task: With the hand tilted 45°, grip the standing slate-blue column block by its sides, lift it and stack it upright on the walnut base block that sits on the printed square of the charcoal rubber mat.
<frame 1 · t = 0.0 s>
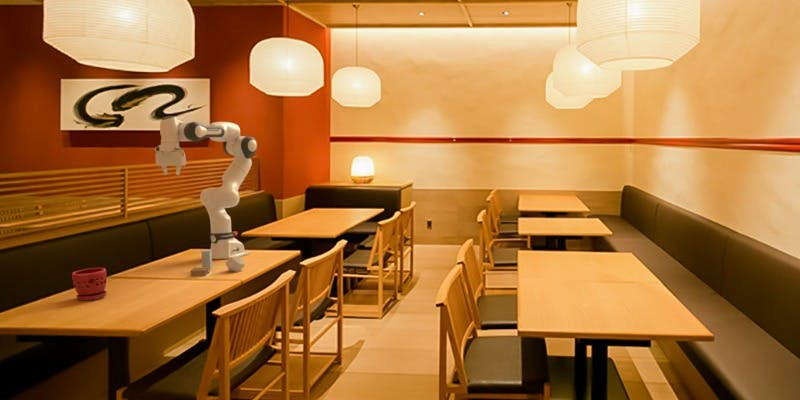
hand: (171, 174, 343), 48 cm above the table, tool pointing down, fingers open, 8 cm apart
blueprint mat: (202, 275, 324), on the table
die: (235, 271, 331), on the table
plant pot: (91, 298, 281), on the table
base block: (200, 274, 323), resting on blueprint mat
column: (207, 270, 337), on the table
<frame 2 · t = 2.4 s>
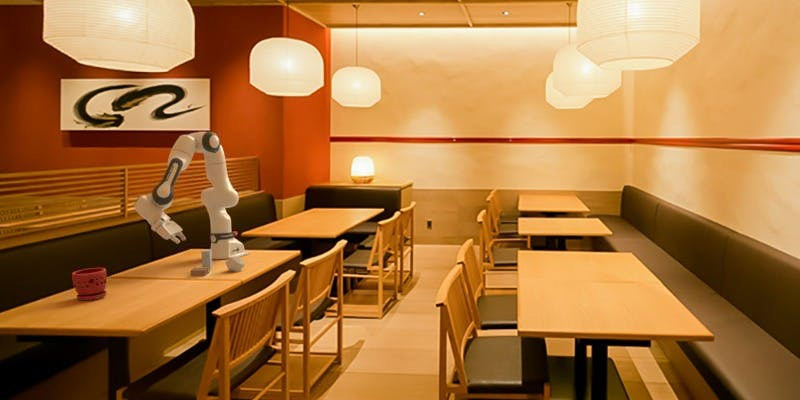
hand: (181, 241, 335), 15 cm above the table, tool tilted 45°, fingers open, 8 cm apart
nothing on the table moved.
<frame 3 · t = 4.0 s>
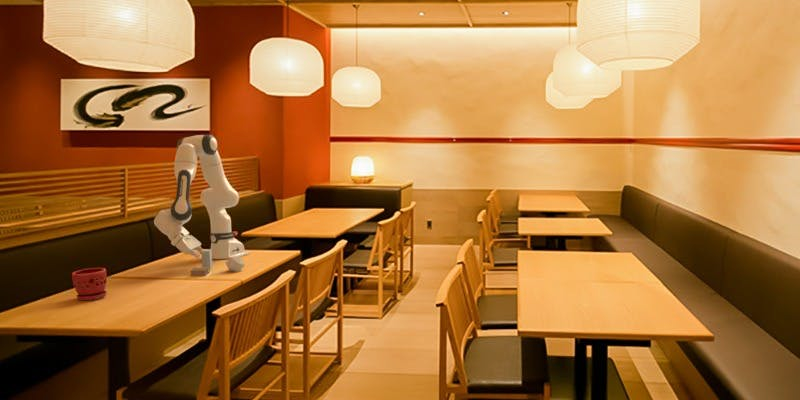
hand: (201, 255, 335), 8 cm above the table, tool tilted 45°, fingers open, 8 cm apart
nothing on the table moved.
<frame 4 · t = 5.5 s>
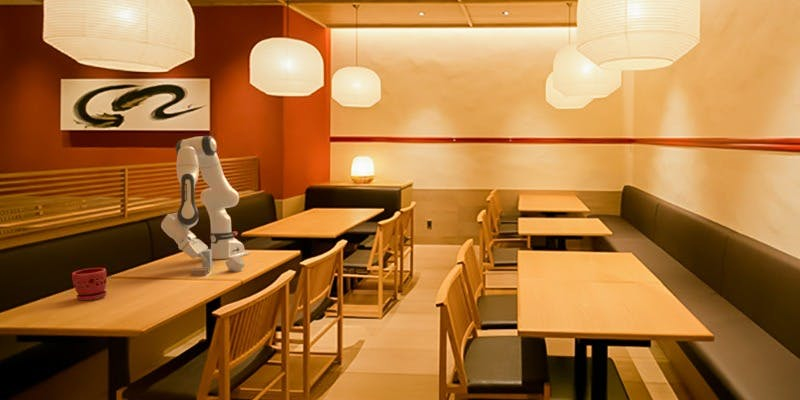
hand: (208, 259, 336), 5 cm above the table, tool tilted 45°, fingers closed on column, 4 cm apart
column: (207, 270, 337), on the table, touching gripper
everything else where it was.
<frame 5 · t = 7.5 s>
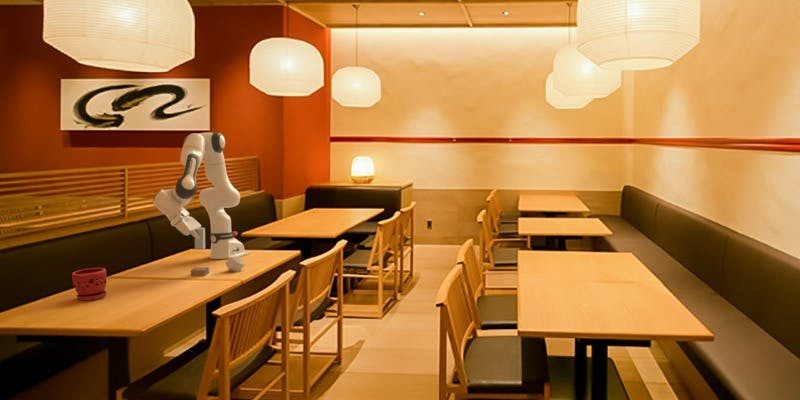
hand: (201, 237, 324), 18 cm above the table, tool tilted 45°, fingers closed on column, 4 cm apart
column: (200, 248, 324), point 13 cm above the table, touching gripper
everything else where it was.
when the fingers open (10 cm above the table, at t = 9.4 s): column drops 1 cm, resting on base block.
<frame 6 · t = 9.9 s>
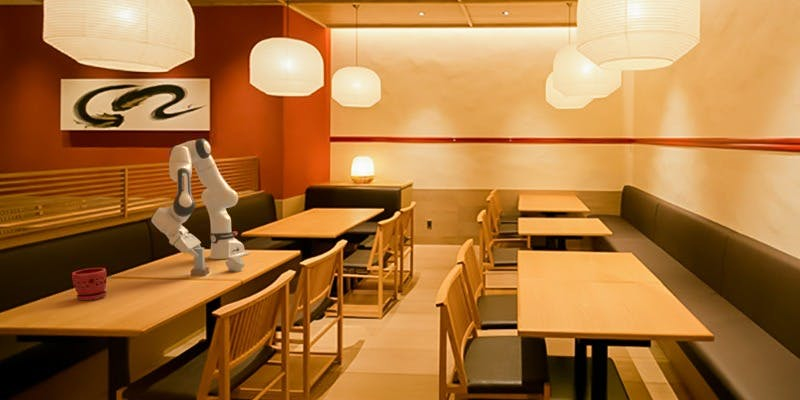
hand: (200, 254, 322), 10 cm above the table, tool tilted 45°, fingers open, 8 cm apart
base block: (200, 274, 323), resting on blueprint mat, touching column
column: (199, 268, 323), point 3 cm above the table, touching base block
everything else where it was.
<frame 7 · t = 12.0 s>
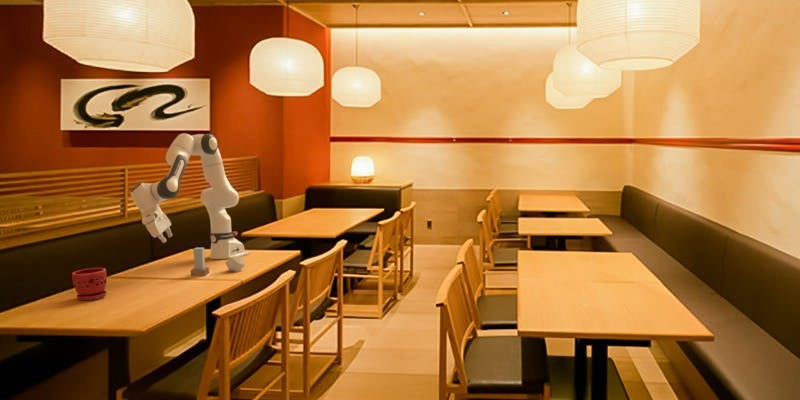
hand: (168, 239, 325), 18 cm above the table, tool tilted 25°, fingers open, 8 cm apart
nothing on the table moved.
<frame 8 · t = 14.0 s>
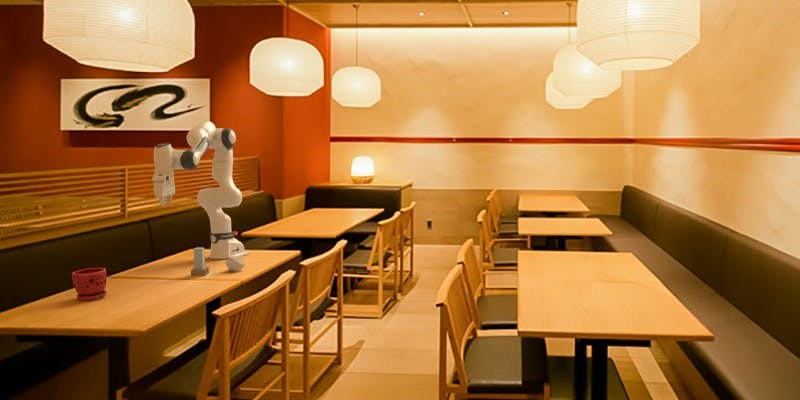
hand: (166, 205, 327), 34 cm above the table, tool pointing down, fingers open, 8 cm apart
nothing on the table moved.
at the end: column 0.1 cm off-centre on the base block, point 3.0 cm above the base block's base; column tilted 0°; the gripper is holding nothing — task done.
